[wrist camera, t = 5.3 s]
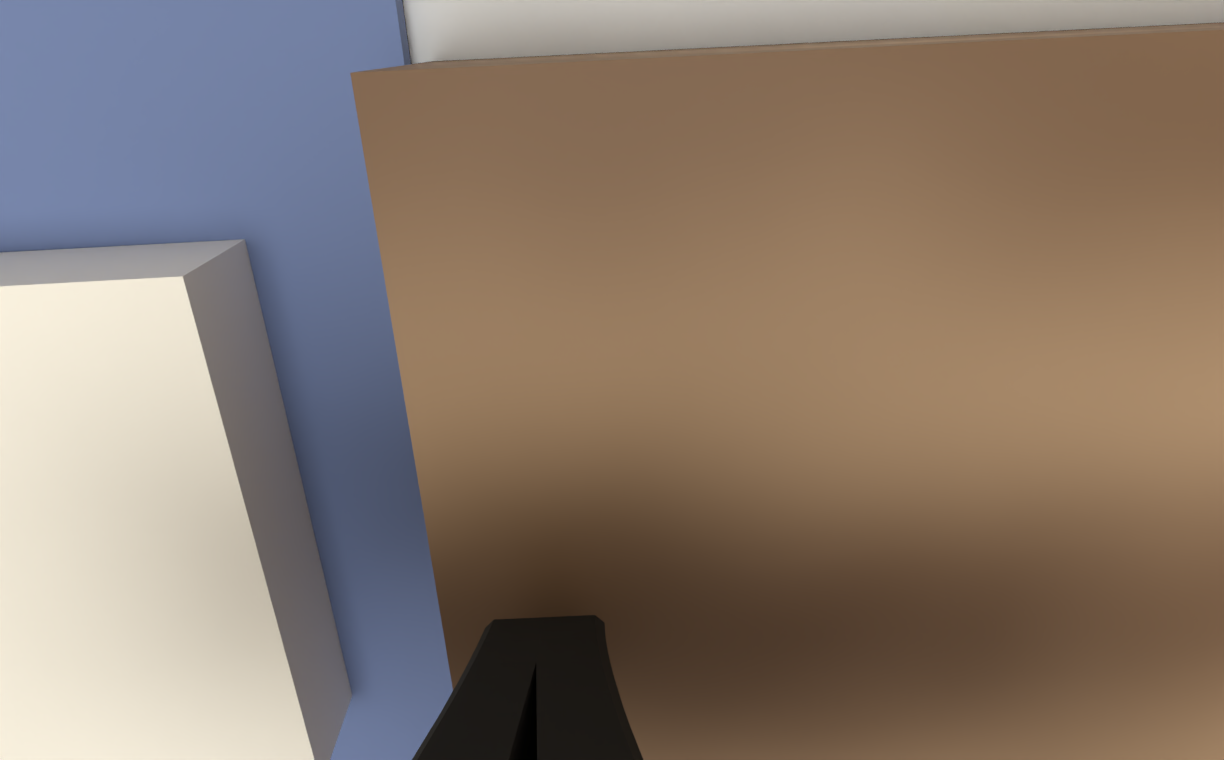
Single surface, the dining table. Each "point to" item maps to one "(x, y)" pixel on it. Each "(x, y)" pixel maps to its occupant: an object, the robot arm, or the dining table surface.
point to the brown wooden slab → (829, 381)
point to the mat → (254, 262)
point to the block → (154, 518)
